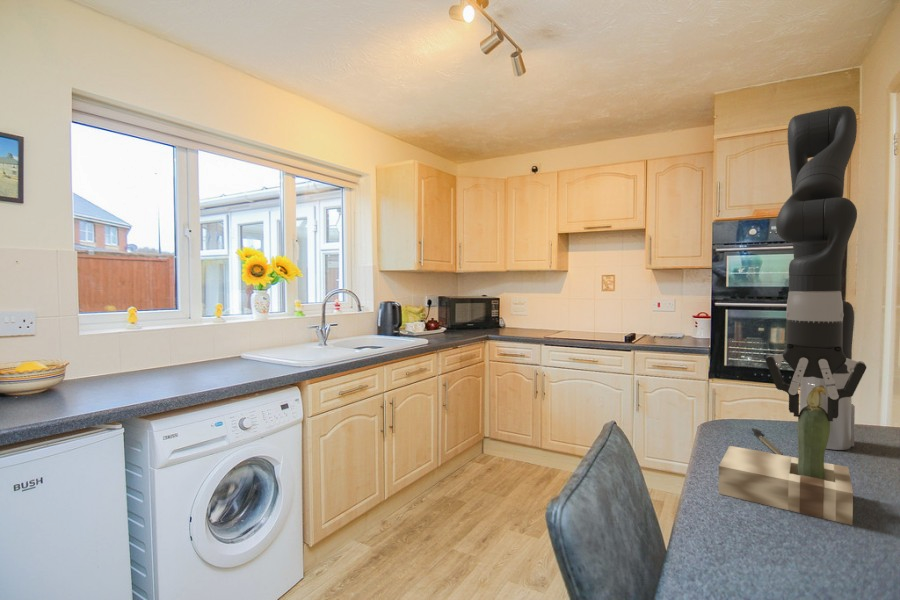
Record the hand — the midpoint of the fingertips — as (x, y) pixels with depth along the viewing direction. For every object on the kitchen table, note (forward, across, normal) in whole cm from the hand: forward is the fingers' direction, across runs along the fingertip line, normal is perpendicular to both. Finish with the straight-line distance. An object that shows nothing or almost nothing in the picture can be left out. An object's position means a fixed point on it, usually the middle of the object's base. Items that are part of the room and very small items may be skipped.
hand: (812, 417), depth 79 cm
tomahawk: (+15, +7, -29) cm, 33 cm away
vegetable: (+14, 0, 0) cm, 14 cm away
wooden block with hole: (+14, +4, 0) cm, 15 cm away
